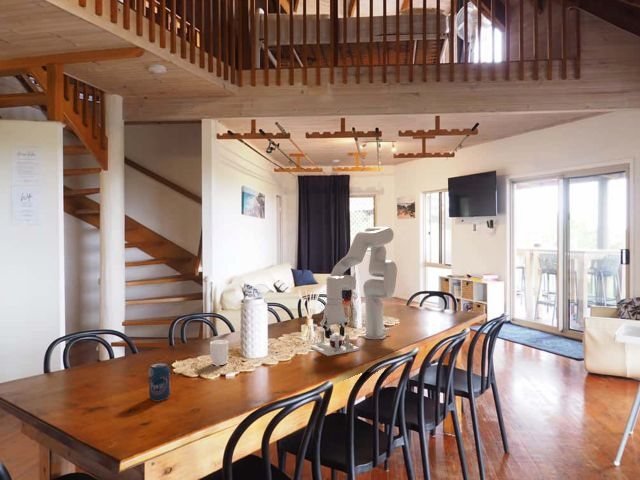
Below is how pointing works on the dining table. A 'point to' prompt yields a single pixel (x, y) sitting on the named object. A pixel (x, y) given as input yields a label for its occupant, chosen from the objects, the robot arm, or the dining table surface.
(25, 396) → the dining table surface
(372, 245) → the robot arm
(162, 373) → the soda can
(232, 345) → the dining table surface
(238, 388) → the dining table surface
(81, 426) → the dining table surface
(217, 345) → the white cup
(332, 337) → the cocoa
